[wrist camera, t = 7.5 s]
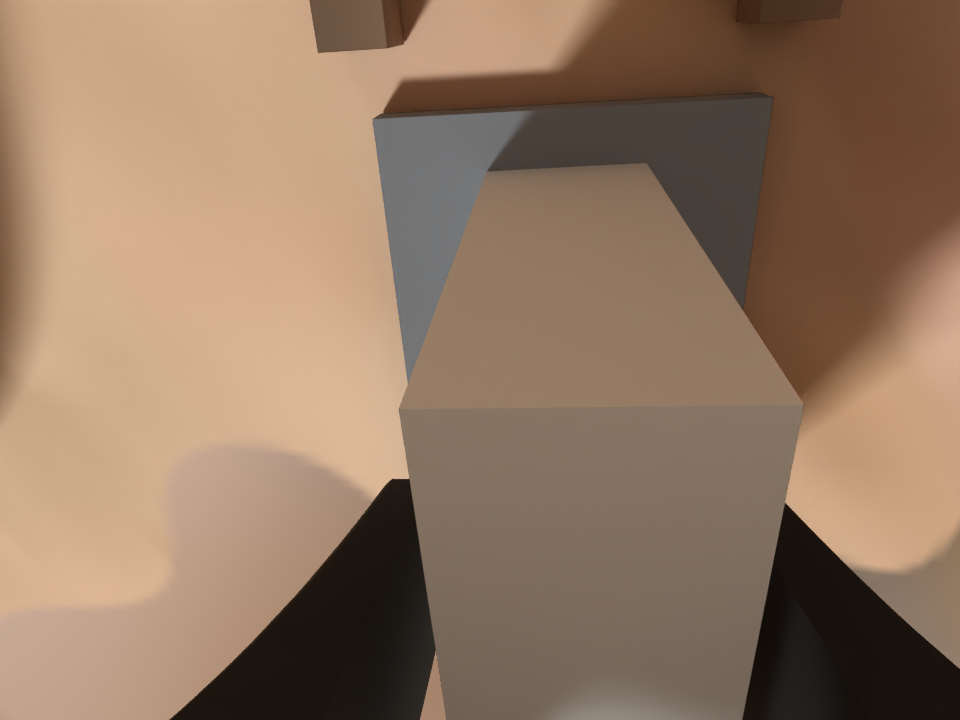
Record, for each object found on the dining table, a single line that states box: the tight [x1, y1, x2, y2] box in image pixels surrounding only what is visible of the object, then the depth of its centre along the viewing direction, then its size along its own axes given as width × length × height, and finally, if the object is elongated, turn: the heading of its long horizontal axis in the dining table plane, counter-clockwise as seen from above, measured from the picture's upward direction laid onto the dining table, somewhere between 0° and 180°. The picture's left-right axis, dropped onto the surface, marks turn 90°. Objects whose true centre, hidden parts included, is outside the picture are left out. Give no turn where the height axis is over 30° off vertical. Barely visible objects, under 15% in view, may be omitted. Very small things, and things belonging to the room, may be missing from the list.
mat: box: [373, 93, 773, 383], centre depth 13 cm, size 6×11×1 cm, turn 4°
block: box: [399, 163, 804, 720], centre depth 9 cm, size 2×9×7 cm, turn 4°
